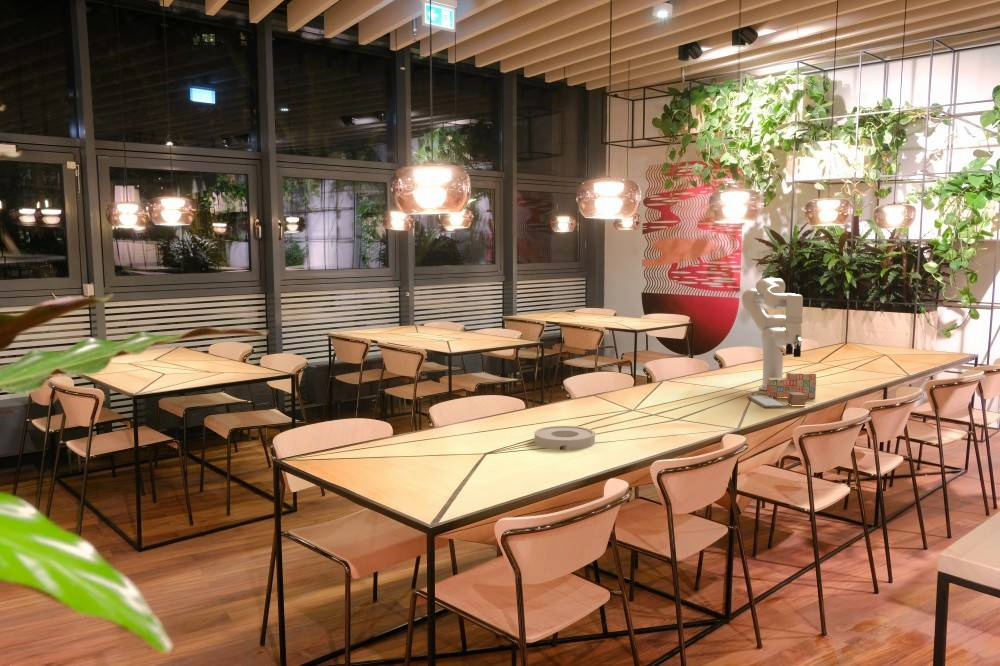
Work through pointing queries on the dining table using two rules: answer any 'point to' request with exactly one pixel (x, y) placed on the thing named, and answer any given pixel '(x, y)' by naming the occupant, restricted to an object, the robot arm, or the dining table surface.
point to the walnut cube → (796, 398)
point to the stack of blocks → (792, 384)
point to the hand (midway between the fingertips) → (793, 355)
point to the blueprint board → (766, 401)
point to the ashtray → (564, 437)
